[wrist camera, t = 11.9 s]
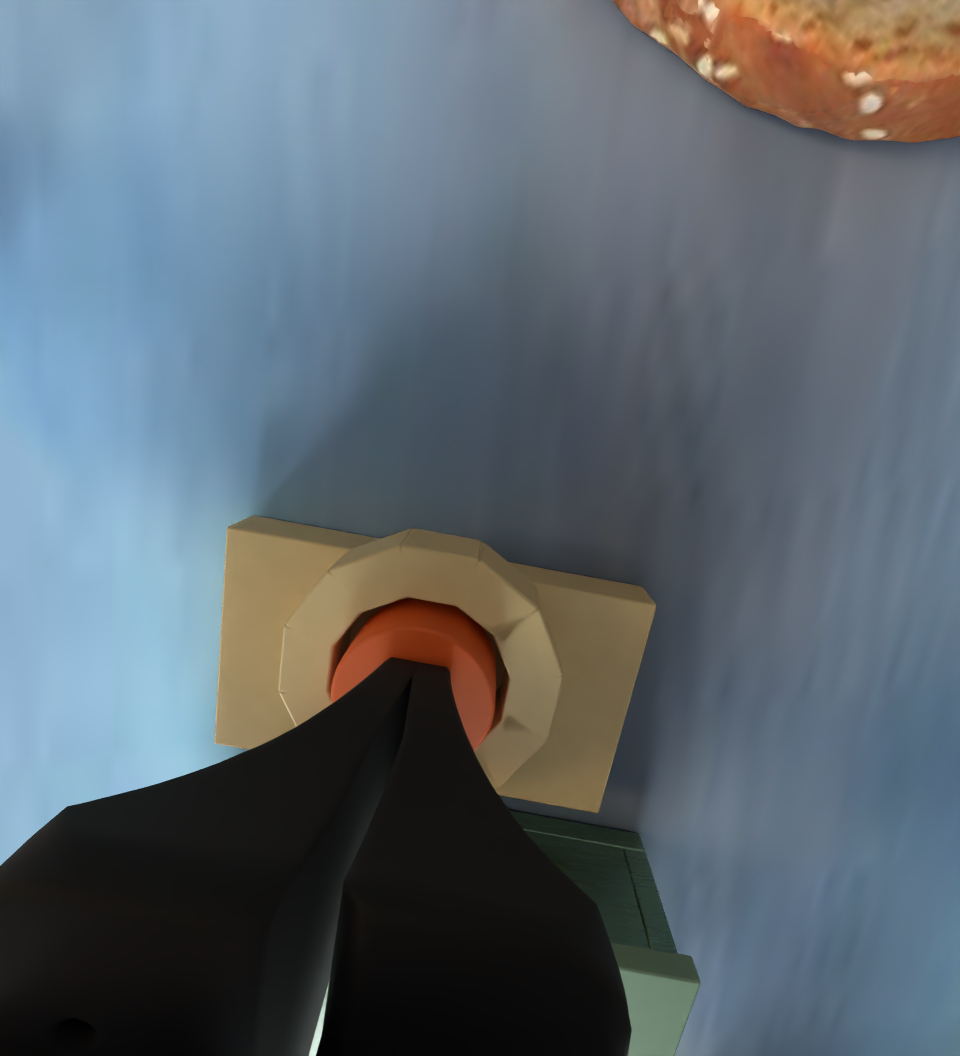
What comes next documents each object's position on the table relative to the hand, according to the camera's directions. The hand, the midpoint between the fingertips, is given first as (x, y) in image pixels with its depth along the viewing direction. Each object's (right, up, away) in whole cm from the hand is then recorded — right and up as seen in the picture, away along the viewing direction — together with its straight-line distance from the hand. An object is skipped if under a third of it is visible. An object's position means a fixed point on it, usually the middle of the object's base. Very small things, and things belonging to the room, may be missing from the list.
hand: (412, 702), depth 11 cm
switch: (0, 0, +2) cm, 2 cm away
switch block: (0, 0, +4) cm, 4 cm away
